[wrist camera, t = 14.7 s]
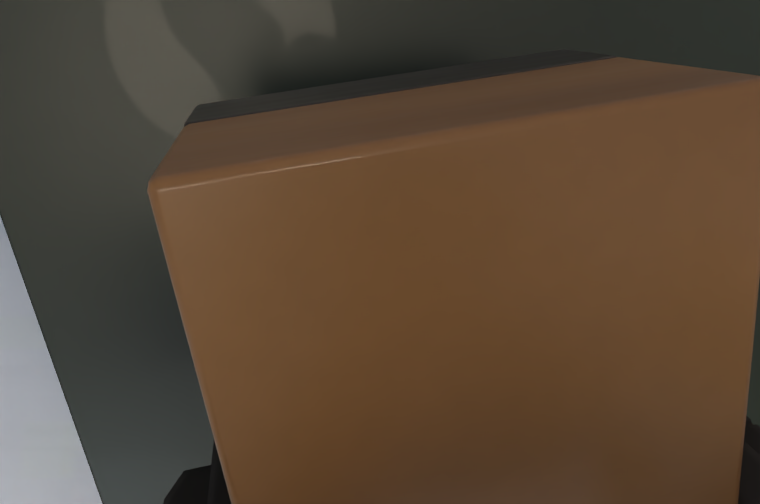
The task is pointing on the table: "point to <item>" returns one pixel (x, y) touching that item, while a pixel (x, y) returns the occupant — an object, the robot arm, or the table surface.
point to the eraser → (473, 282)
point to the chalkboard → (165, 122)
